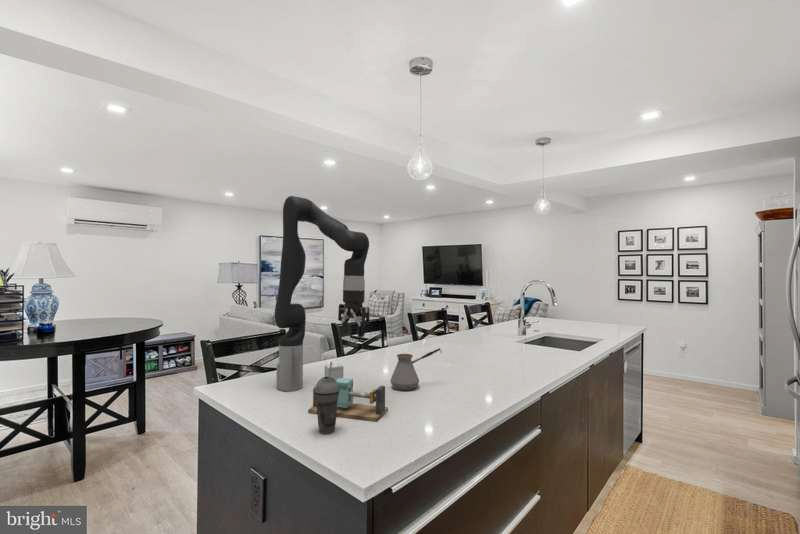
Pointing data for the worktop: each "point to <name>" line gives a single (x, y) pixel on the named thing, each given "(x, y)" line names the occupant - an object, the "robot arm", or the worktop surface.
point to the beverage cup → (326, 403)
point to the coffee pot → (406, 372)
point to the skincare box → (334, 371)
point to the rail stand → (361, 406)
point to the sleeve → (344, 392)
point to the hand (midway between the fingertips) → (353, 335)
